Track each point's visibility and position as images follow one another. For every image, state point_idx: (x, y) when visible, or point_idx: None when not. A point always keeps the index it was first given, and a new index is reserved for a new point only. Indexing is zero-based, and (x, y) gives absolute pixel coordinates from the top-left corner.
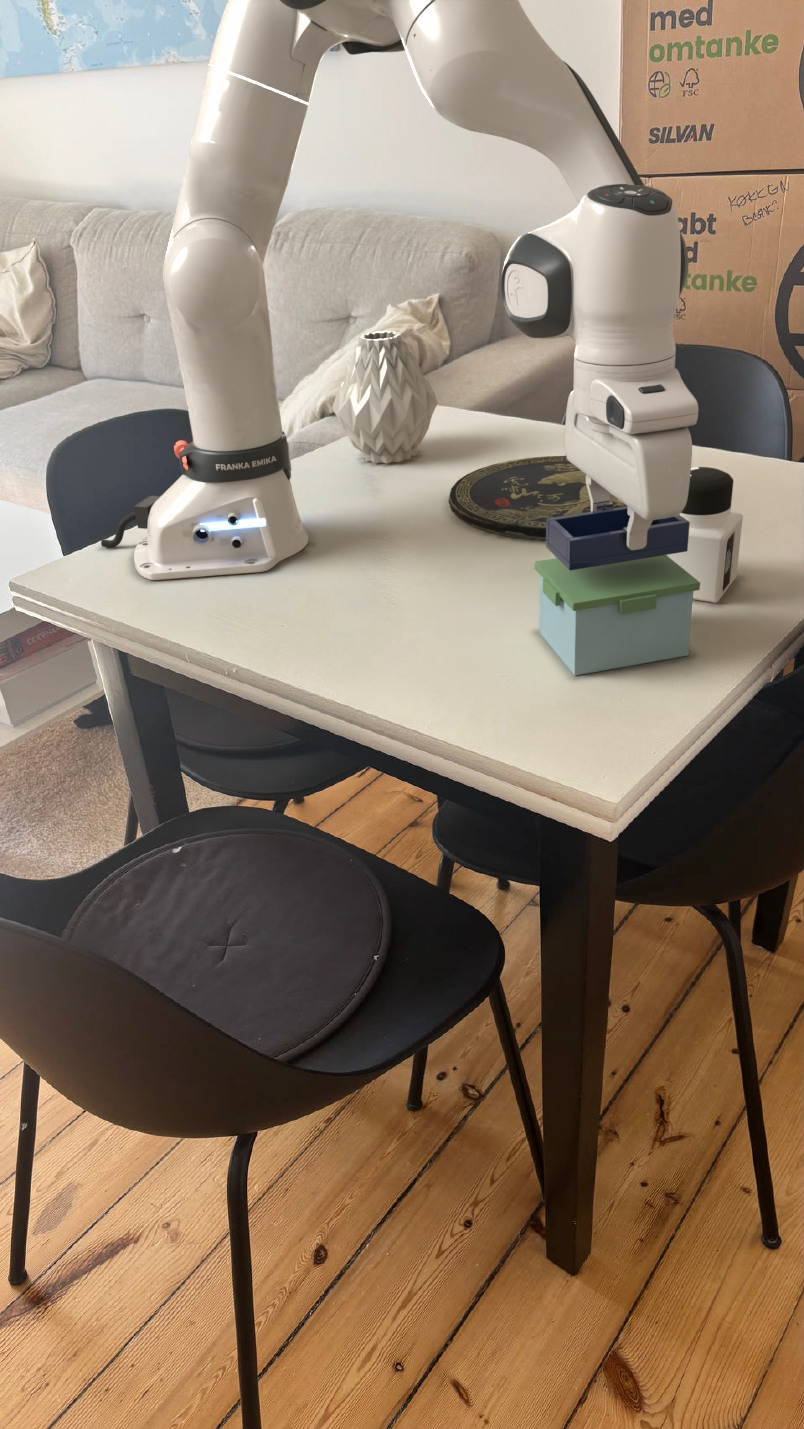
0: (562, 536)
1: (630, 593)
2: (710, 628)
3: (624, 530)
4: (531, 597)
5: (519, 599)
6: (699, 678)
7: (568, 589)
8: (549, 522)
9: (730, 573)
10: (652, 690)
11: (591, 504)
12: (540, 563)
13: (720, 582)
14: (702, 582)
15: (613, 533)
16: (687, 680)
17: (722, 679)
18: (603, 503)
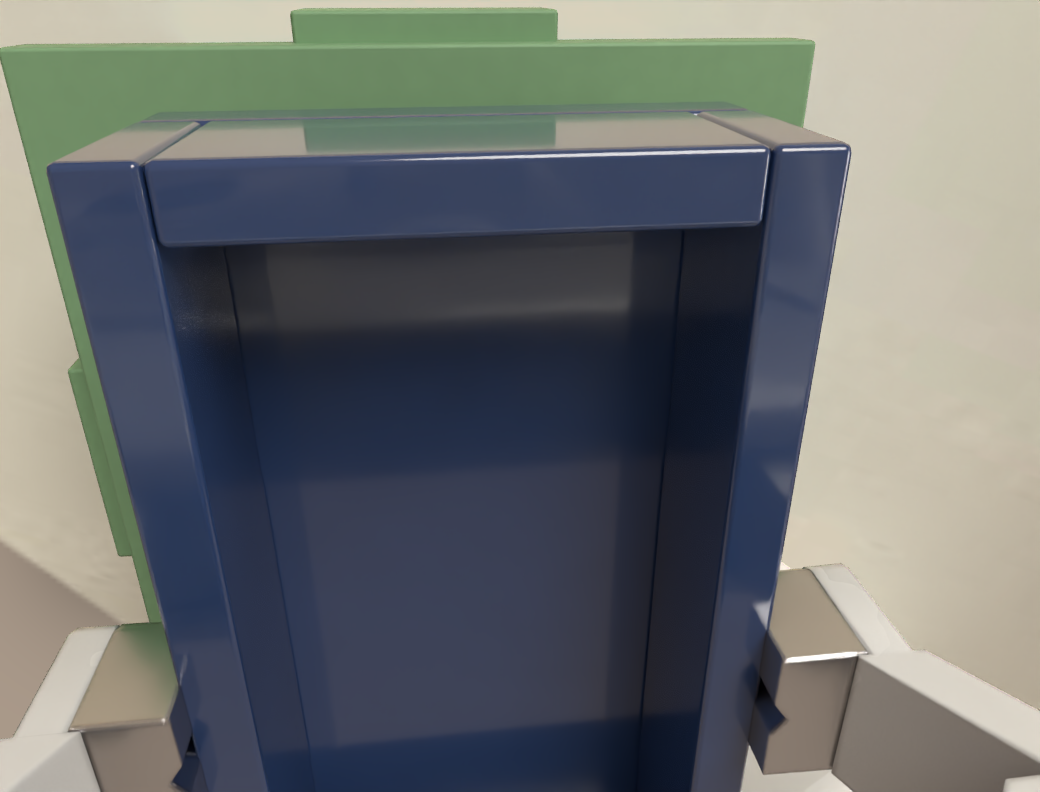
0: (310, 152)
1: (106, 444)
2: None
3: (137, 712)
4: (974, 133)
5: (988, 73)
6: (93, 486)
7: (256, 103)
8: (735, 144)
9: None
10: (17, 309)
11: (886, 633)
12: (760, 71)
13: None
14: None
15: (176, 617)
16: (83, 447)
17: (74, 546)
18: (809, 718)
